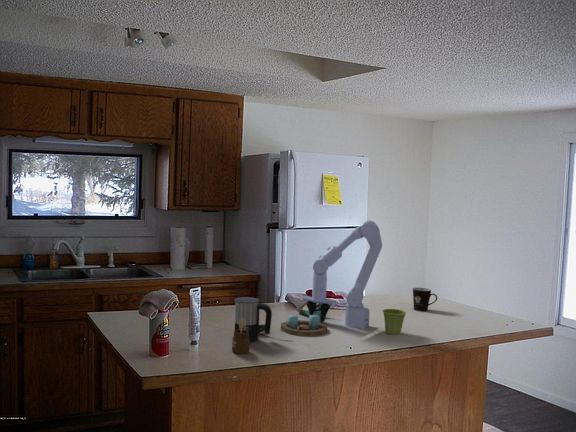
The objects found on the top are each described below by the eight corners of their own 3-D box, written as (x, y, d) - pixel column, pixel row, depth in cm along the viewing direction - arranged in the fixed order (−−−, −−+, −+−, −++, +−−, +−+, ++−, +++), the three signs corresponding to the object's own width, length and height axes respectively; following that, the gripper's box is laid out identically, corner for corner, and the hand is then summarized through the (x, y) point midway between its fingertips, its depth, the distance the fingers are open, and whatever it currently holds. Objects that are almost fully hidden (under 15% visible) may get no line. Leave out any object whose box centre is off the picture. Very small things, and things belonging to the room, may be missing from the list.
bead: (294, 330, 236) (294, 318, 235) (285, 329, 238) (285, 316, 237) (299, 328, 239) (299, 316, 239) (290, 327, 241) (291, 314, 241)
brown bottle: (249, 349, 211) (251, 315, 211) (248, 354, 205) (250, 319, 204) (232, 348, 211) (233, 314, 210) (231, 354, 205) (232, 318, 204)
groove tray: (334, 331, 242) (335, 325, 242) (313, 341, 226) (313, 334, 226) (295, 324, 251) (295, 318, 251) (271, 332, 235) (272, 326, 235)
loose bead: (324, 324, 254) (324, 312, 253) (319, 325, 250) (320, 313, 250) (315, 322, 256) (316, 310, 255) (311, 324, 252) (311, 312, 252)
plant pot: (408, 332, 246) (409, 311, 246) (400, 337, 238) (401, 315, 238) (386, 328, 251) (387, 307, 251) (377, 333, 243) (379, 311, 242)
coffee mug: (407, 308, 293) (409, 287, 293) (422, 307, 297) (423, 287, 296) (422, 313, 283) (424, 292, 282) (437, 312, 286) (439, 291, 286)
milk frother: (235, 342, 219) (236, 302, 218) (227, 331, 234) (229, 293, 233) (273, 342, 223) (275, 301, 222) (264, 330, 238) (266, 293, 237)
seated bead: (320, 328, 241) (321, 316, 241) (315, 330, 238) (316, 317, 238) (311, 326, 243) (312, 314, 243) (306, 328, 240) (307, 316, 240)
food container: (298, 322, 266) (313, 324, 259) (293, 310, 265) (309, 311, 257) (317, 309, 274) (332, 310, 266) (312, 297, 273) (328, 298, 265)
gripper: (339, 289, 252) (337, 321, 253) (308, 284, 259) (306, 316, 260) (332, 291, 246) (330, 324, 246) (300, 286, 253) (298, 319, 254)
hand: (317, 320), depth 253 cm, fingers closed on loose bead, 4 cm apart
